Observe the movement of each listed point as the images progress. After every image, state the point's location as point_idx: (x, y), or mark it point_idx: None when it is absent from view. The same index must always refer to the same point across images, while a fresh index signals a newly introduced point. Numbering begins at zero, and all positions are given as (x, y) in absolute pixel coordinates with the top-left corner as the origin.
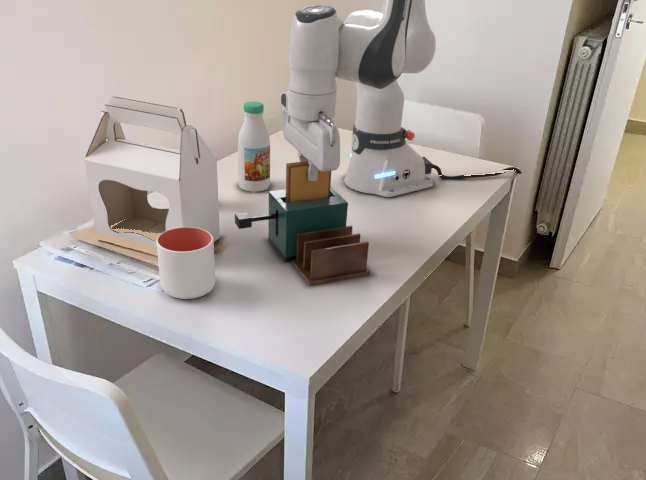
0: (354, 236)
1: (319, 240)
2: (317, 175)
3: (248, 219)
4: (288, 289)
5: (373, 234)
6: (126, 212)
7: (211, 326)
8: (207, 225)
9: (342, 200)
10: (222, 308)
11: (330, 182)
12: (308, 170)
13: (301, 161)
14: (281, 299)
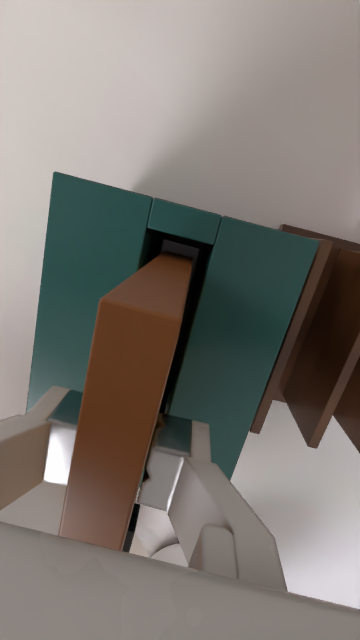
0: None
1: (334, 407)
2: (208, 442)
3: (132, 536)
4: (313, 451)
5: (223, 50)
6: None
7: (320, 599)
8: (37, 527)
9: (279, 248)
10: (286, 565)
11: (189, 278)
12: (175, 526)
13: (10, 499)
14: (334, 481)
